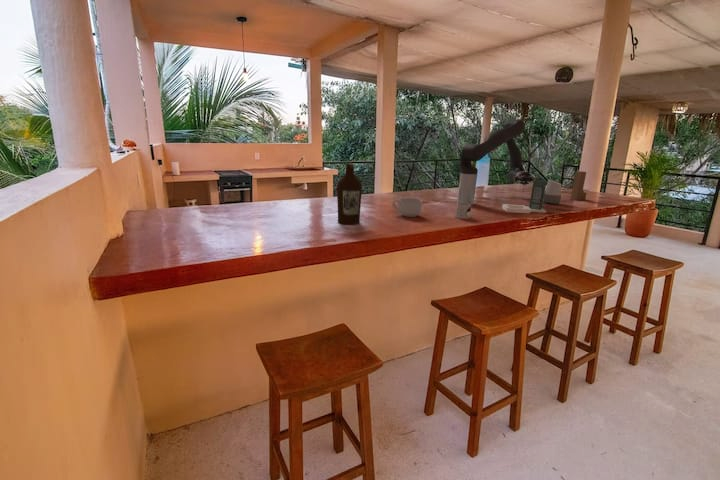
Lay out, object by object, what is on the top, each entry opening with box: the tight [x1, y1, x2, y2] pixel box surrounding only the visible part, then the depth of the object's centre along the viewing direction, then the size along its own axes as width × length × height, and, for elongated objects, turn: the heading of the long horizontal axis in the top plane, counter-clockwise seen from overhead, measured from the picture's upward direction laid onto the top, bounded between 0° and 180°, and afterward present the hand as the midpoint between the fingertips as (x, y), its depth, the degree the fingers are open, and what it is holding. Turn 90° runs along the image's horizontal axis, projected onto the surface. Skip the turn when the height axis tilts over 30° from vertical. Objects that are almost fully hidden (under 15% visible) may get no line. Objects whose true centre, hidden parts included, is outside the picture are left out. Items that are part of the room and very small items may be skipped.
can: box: [529, 179, 548, 210], centre depth 196 cm, size 6×6×15 cm
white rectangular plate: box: [525, 205, 547, 214], centre depth 199 cm, size 8×10×1 cm
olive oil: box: [336, 163, 363, 226], centre depth 156 cm, size 11×11×25 cm
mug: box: [455, 202, 472, 220], centre depth 177 cm, size 10×7×7 cm, turn 160°
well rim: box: [501, 203, 532, 214], centre depth 196 cm, size 12×12×2 cm
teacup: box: [392, 197, 423, 218], centre depth 176 cm, size 14×11×8 cm
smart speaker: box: [543, 179, 563, 205], centre depth 219 cm, size 10×9×14 cm
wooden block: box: [570, 170, 588, 201], centre depth 236 cm, size 9×4×18 cm, turn 115°
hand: (530, 180), depth 207 cm, fingers open, 8 cm apart
